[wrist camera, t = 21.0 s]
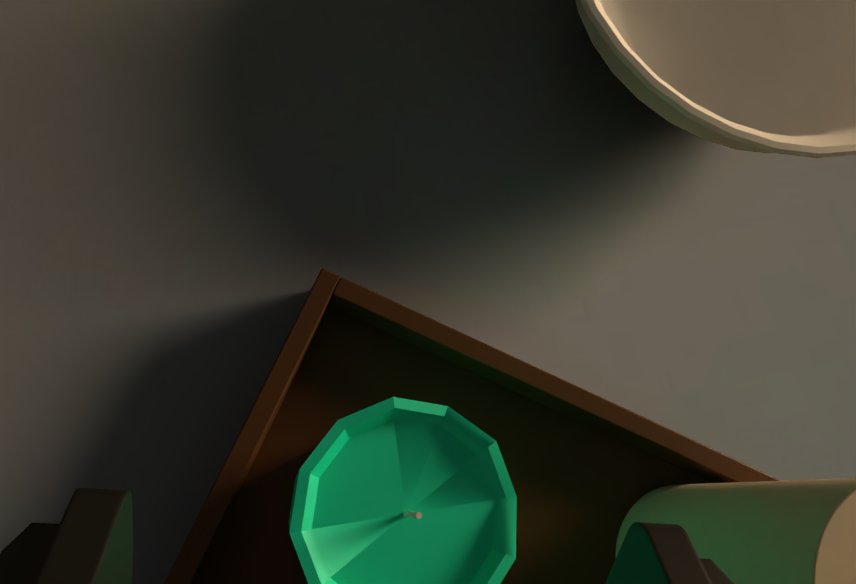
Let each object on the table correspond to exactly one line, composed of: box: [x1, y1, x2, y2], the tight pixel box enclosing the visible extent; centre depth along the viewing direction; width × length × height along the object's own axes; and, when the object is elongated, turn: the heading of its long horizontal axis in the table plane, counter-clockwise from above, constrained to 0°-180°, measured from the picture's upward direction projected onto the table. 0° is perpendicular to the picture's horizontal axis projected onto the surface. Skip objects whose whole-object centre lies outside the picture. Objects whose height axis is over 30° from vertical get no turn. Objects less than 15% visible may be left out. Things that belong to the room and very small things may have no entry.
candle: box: [289, 397, 517, 584], centre depth 23 cm, size 6×6×12 cm
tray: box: [164, 269, 780, 584], centre depth 29 cm, size 26×15×3 cm, turn 67°
